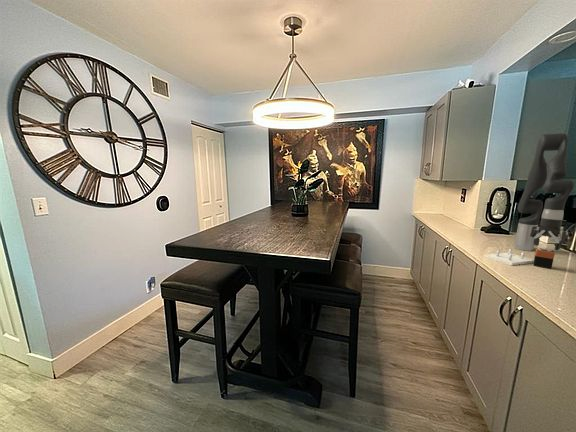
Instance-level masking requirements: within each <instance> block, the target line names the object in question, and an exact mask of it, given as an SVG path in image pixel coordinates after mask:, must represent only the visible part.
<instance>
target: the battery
mask: <svg viewBox="0 0 576 432" xmlns="http://www.w3.org/2000/svg"><path fill="white" fill-rule="evenodd" d="M534 253H535V254H534V258H533V260H534V262H533V263H532V264H533V266H534V267H538V268H544V269H549V270H551V269H552V268H553V264H554V258H555V254H556V253H555V251H554V250H553V249H550V248H547V249H544V248H541V247H539V248H536V249H535V252H534Z"/></svg>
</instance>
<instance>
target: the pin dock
mask: <svg viewBox="0 0 576 432" xmlns="http://www.w3.org/2000/svg"><path fill="white" fill-rule="evenodd" d="M512 251H513V250H512V249H511V248H509V249H508V252H500V250H499V249H497V250H496V253H488V254H485V258H488V259H490V260H493V261H496V262H500V263H503V264H505V265H509V266H511V265H512V266H520V265H526V264H533V262H534V258H532V259H531V258H529V257H526V256H525V252H521V255H518V254H516V253H512ZM519 264H520V265H519Z"/></svg>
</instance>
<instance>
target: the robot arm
mask: <svg viewBox="0 0 576 432" xmlns="http://www.w3.org/2000/svg"><path fill="white" fill-rule="evenodd" d="M568 142H569V138H568V135H567V134H566V133H545V134H542V135H540V137H539V139H538V141H537V145H536V149H535V153H534V159H533V162H532V165H531V167H530V171H529V173H528V176H527V178H526V179H527V180H526V183H525V187H524V189H523V193H522V195H521V198H520V199H519V203H518V206H517V211H518V213H520V214H530V215H528V216H526V217H521V218H519V219H518V224H517V230H516V234H515V240H514V247H513V248H514V249H517V250H521V251H526V252H527V251H528V252H531V251H534V249H535V246H539V245H540V240H541V239H540V238H542V237H548V238H552V239H553V240H554V241H555V245H554V250H555V251H559V250H561V248H562V244H566V243H568V242H569V241H568V240H569V234H570V232H569V231H568V230H567V231H565V230H561V228H562V224H563V219H564V215H565V214H564V210H565V205H566V202H567V201H568V198H569V196H570V195H571V193H572V192H573V190H574V188H575V183H574V181H573V180H572V179H565V178H566V177H567V176H568V172H567V162H566V161H567V155H568V154H567V152H568ZM547 151H548V152H549V151H551V152H553V151H557V152H556V154H555V155H554V156H553V157H552V158H551V159H550V160H548V162H547V160H546V159H545V157H544V155H545V154H544V153H545V152H547ZM541 189H542V190H543V192H545V193H546V194H559V195H558V196H555V197H547V198H546V199H545V202H544V203H543V201H542V200H541V199H531V197H532V196H533V195H534V194H535V193H536V192H538V191H539V190H541ZM543 204H544V205H543ZM539 222H540V226H539ZM538 231H539V232H538ZM560 235H561V236H560Z"/></svg>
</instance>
